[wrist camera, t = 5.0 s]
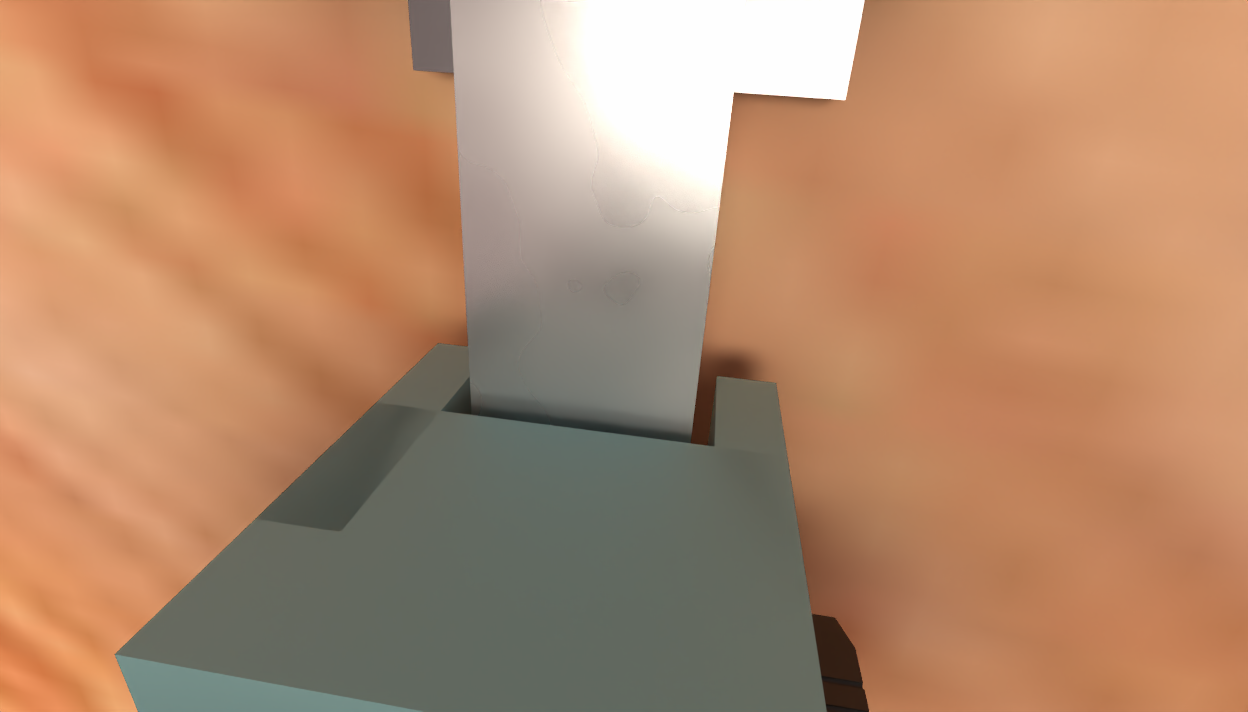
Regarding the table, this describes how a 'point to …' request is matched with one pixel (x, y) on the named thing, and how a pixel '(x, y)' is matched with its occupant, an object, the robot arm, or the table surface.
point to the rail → (606, 186)
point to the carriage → (503, 572)
